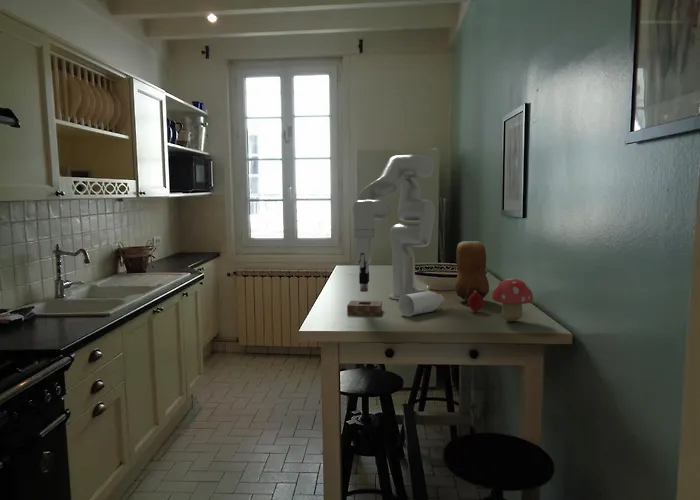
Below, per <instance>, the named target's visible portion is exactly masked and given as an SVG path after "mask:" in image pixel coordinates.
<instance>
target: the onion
mask: <svg viewBox="0 0 700 500" xmlns="http://www.w3.org/2000/svg"><path fill="white" fill-rule="evenodd" d="M484 303H485V301H484V298H482V296H481V295H480V294H478V293H477V292H476V291H474V293H473V294H472V295H470V297H469V298H468V301H467V305H468V307H469V308H470V309H471V311H472V312H474V313H476V312H478V311H480V310H482V308H483V307H484Z"/></svg>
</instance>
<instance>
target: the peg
mask: <svg viewBox="0 0 700 500" xmlns="http://www.w3.org/2000/svg"><path fill="white" fill-rule="evenodd" d="M364 265H366V264H364ZM364 267H365V268H366V266H364ZM367 273H368V265H367ZM359 291H360V292H363V293H367V292H369V283H368V284H360V283H359Z"/></svg>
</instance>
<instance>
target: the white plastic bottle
mask: <svg viewBox="0 0 700 500" xmlns="http://www.w3.org/2000/svg"><path fill="white" fill-rule="evenodd" d="M399 298H400V300H398V303H397V305H398V309H399V311H400V313H401V315H403V316H404V317H413V316H416V315H420V314H425V313H426V314H427V313H432V312H434V311H435V310H436V309H438V308H439V307H440V305H441V304H444V302H445V298H444V296H443V295H442V294H441V293H440V292H439V294H438V293H437V292H435V291H430V290H425V292H419V293H413V294H407V295H402V296H401V297H399Z"/></svg>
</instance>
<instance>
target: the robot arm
mask: <svg viewBox="0 0 700 500" xmlns="http://www.w3.org/2000/svg"><path fill="white" fill-rule="evenodd" d="M434 170H435V164H434V160H433V159H432V158H431V157H430V156H427V155H420V154H402V155H401V154H400V155H399V154H398V155H394V156H392V157H391V156H390V157H389V159H388V161H387V162H386V164H385V166H384V167H383V170H382V171H381V174H380V175H379V177H378V179H376V180H374V181H373V182H371V183H369V184H368V185H367V186H365V187H364V188H362V190H361V191H360V192H359V193H358V195H357V197H356V199H355V201H354V203H353V206H352V213H353V238H354V239H356V240H355V265H356V266H359V275H358V281H359V282H358V283H359V285H360V284H368V285H369V282H370V266H369V265H370V263H371V262H372V239H375V221H377V220H378V221H380V220H384V219H386V218H388V217H389V215H390V212H391V207H390V204H389V203H388V201H386V200H384V199H382V198H383V197H386V196H389V195H392V194H394V193H395V192H396V191H397V190H398V189H399V186H400V194H399V195H400V196H399V200H398V206H397V218H398V219H399V220H400V221H402V222H407V223H397V224H393V225H392V226H391V228H390V231H389V239H390V240H389V241H390V245H391V253H392V255H391V257H392V258H391V260H392V261H391V264H392V265H391V266H392V267H391V269H392V271H391V274H392V276H391V277H392V284H391V287H392V288H391V289H392V291H391V293H389V294H388V298H389V299H392V300H397V301H399V300H400V298H399V297H401V296H402V295H407V294H413V293H419V292H425V291H426V288H425V289H424V288H417V287H416V285H415V284H416V283H415V281H416V279H415V278H416V277H415V275H416V274H415V273H416V271H415V270H416V269H415V267H416V266H415V263H416V262H415V261H416V260H415V259H416V257H415V253H414V251H413V250H412V248H411V247H415V248H424V247H427V246H429V244H430V243H431V240H432V235H433V227H434V222H435V213H436V210H435V209H436V208H435V205H434V203H433V201H431V200H430V199H421V191H422V190H421V187H420V185H419V183H418V182H417V181H416V178H429V177H431V176H432V175H433V173H434ZM414 178H415V179H414ZM380 198H381V199H380ZM364 264H366V265H364ZM367 265H368V273H367ZM364 266H366V268H365V267H364Z"/></svg>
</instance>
